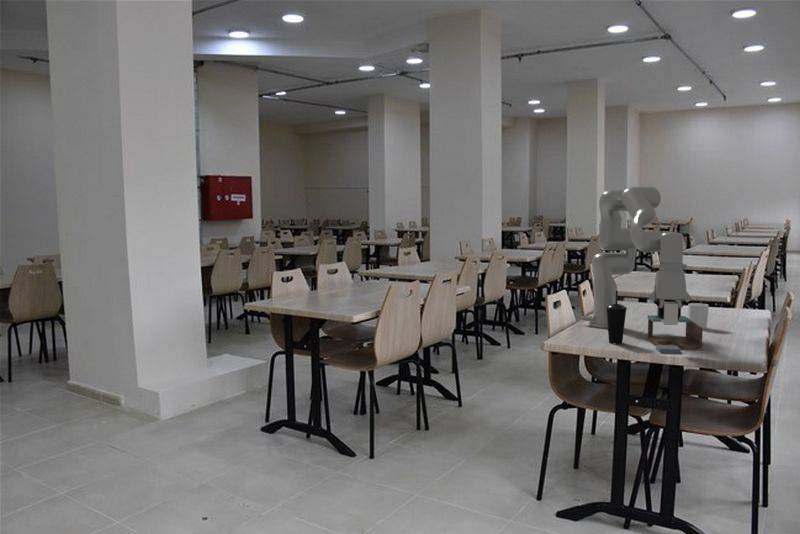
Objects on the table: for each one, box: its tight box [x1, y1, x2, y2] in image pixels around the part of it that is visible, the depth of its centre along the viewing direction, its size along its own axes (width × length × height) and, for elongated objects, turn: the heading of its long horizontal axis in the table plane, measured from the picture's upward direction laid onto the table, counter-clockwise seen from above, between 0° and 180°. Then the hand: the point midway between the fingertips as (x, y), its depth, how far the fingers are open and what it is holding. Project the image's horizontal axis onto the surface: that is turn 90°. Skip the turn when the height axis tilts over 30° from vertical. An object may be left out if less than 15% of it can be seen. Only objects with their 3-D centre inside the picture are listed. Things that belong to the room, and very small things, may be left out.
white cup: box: [687, 302, 710, 330], centre depth 279 cm, size 8×8×10 cm
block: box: [660, 301, 679, 326], centre depth 235 cm, size 4×4×8 cm
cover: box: [647, 306, 691, 323], centre depth 253 cm, size 14×8×6 cm, turn 81°
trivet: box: [655, 344, 682, 354], centre depth 236 cm, size 7×6×2 cm
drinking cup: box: [606, 289, 628, 345], centre depth 251 cm, size 8×8×20 cm
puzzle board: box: [647, 318, 704, 351], centre depth 248 cm, size 15×18×8 cm
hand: (669, 318), depth 235 cm, fingers closed on block, 4 cm apart
